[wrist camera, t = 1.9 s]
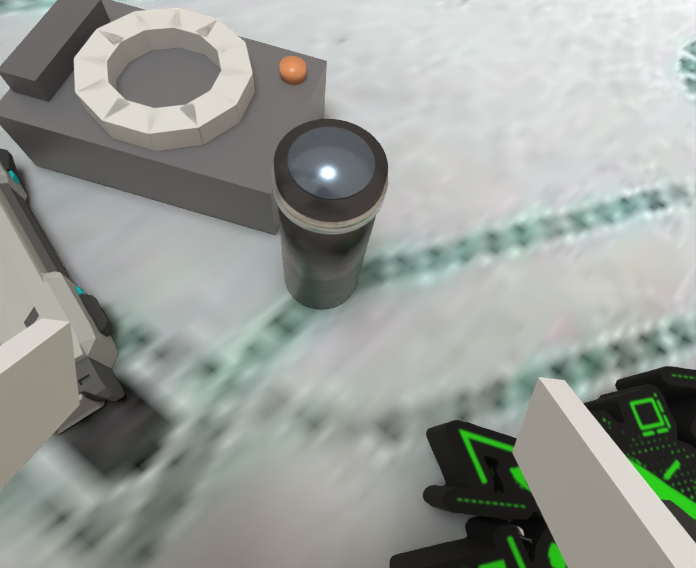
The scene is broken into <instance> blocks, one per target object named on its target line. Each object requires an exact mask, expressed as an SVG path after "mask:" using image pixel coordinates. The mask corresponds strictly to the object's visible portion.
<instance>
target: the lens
mask: <svg viewBox="0 0 696 568" xmlns="http://www.w3.org/2000/svg"><path fill="white" fill-rule="evenodd" d="M271 178H272V187H273V194H274V197H275V200H276V202H277V205H278V215H279V225H280V235H281V245H282V256H283V266H284V276H285V283H286V286H287V288H288V291H289V292H290V294H291V295H292V296H293V297H294V299H296V300H297V301H298V302H299V303H301V304H303V305H305V306H307V307H310V308H314V309H330V308H333V307H336V306H338V305H340V304H342V303H343V302H345V301H346V300H347V299H348V298H349V297H350V296H351V294H352V293H353V291H354V289H355V286H356V283H357V280H358V276H359V273H360V269H361V266H362V262H363V259H364V255H365V252H366V248H367V245H368V242H369V238H370V235H371V231H372V228H373V224H374V221H375V217H376V214H377V213H378V212H379V210H380V208H381V206H382V204H383V201H384V198H385V194H386V191H387V186H388V162H387V158H386V155H385V152H384V150H383V148H382V147H381V145H380V143H379V142H378V141H377V140H376V139H375V138H374V137H373V136H372V135H371V134H370V133H369V132H367V131H366V130H364V129H363V128H361V127H359V126H357V125H355V124H352V123H349V122H346V121H342V120H336V119H318V120H313V121H309V122H306V123H303V124H301V125H299V126H297V127H295V128H293V129H292V130H291V131H289V132H288V133H287V134H286V135H285V136H284V137H283V138H282V140H281V141H280V142H279V144H278V146H277V148H276V151H275V155H274V162H273V165H272V170H271Z"/></svg>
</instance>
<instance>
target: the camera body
mask: <svg viewBox="0 0 696 568" xmlns="http://www.w3.org/2000/svg"><path fill="white" fill-rule="evenodd" d="M326 67H327V61H325V60H321V59H318V58H314V57H311V56H307V55H304V54H300V53H297V52H293V51H290V50H286V49H282V48H279V47H275V46H272V45H268V44H265V43H261V42H258V41H254V40H250V39H247V38H243V37H240V36H238V35H236V34H235V33H234V32H233V31H232V30H231V29H229V28H228V27H227V26H226V25H225V24H224V23H222V22H221V21H220V20H219V19H217V18H213V17H210V16H206V15H203V14H199V13H196V12H192V11H188V10H185V9H181V8H169V9H156V10H144V9H140V8H137V7H133V6H130V5H126V4H123V3H119V2H115V1H112V0H57V1H56V3H55V4H54V5H53V6H52V7H51V8H50V10H49V11H48V12H47V13H46V14H45V15H44V16H43V18H42V19H41V20H40V21H39V22H38V23H37V25H36V26H35V27H34V28H33V29H32V30H31V31H30V33H29V34H28V35H27V36H26V37H25V38H24V40H23V41H22V42H21V43H20V44H19V45H18V46H17V48H16V49H15V50H14V51H13V52H12V53H11V55H10V56H9V57H8V58H7V59H6V60H5V61H4V63H3V64H2V65H1V66H0V75H1V76H2V78H3V79H4V80H5V82H6V83H7V84H8V85H9V87H10V89H9V91H8V92H7V93H6V94H5V96H4V97H3V98H2V99H1V100H0V125H1V126H2V127H3V128H4V130H5V131H6V132H7V133H8V134H9V135H10V136H11V138H12V139H13V140H14V141H15V142H16V143H17V144H18V145H19V147H20V148H21V149H22V150H23V151H24V152H25V153H26V155H27V156H28V157H29V158H30V159H31V160H32V161H33V162H34V164H35V165H37V166H40V167H43V168H47V169H50V170H54V171H57V172H61V173H64V174H68V175H71V176H74V177H78V178H81V179H85V180H88V181H92V182H95V183H99V184H102V185H105V186H109V187H112V188H116V189H119V190H123V191H126V192H130V193H133V194H136V195H140V196H143V197H147V198H150V199H154V200H157V201H160V202H164V203H167V204H171V205H174V206H178V207H181V208H185V209H188V210H191V211H195V212H198V213H202V214H205V215H209V216H212V217H216V218H219V219H222V220H226V221H229V222H233V223H236V224H240V225H243V226H246V227H250V228H253V229H257V230H260V231H264V232H267V233H271V234H274V235H276V232H277V230H278V227H279V215H278V205H277V202H276V200H275V197H274V194H273V187H272V178H271V170H272V165H273V162H274V155H275V151H276V148H277V146H278V144H279V142H280V141H281V140H282V138H283V137H284V136H285V135H286V134H287V133H288V132H289V131H291V130H292V129H293V128H295V127H297V126H299V125H301V124H303V123H306V122H309V121H313V120H318V119H322V117H323V114H324V102H325V84H326Z"/></svg>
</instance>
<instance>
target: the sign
mask: <svg viewBox="0 0 696 568" xmlns="http://www.w3.org/2000/svg"><path fill="white" fill-rule="evenodd" d="M615 386H616V388H617V390H618V391H616V392H612V393H608V394H604V395H601V396H600V397H599V398H598V399H597V400H594V401H590V402H586V403H583V404H584V405H585V406H586V408H587V409H588V410H589V411H590V413H591V414H592V415H593V416H594V418H595V419H596V420H597V421H598V423H599V424H600V425H601V426H602V428H603V429H604V430H605V431H606V433H607V434H608V435H609V436H610V438H611V439H612V440H613V441H614V442H615V444H616V445H617V446H618V447H619V449H620V450H621V451H622V452H623V454H624V455H625V456H626V457H627V459H628V460H629V461H630V462H631V464H632V465H633V466H634V467H635V469H636V470H637V471H638V472H639V474H640V475H641V476H642V477H643V478H644V480H645V481H646V482H647V483H648V485H649V486H650V487H651V488H652V490H653V491H654V492H655V493H656V495H657V496H658V497H659V498H660V499H664V500H671V501H672V502H674V503H675V504H676V505H677V506H679V507H680V508H681V509H682V510H683V511H685V512H686V513H687V514H688V515H690V516H691V517H692V518H693V519H695V520H696V370H692V369H684V368H679V367H672V366H665V367H662V368H658V369H655V370H651V371H648V372H644V373H640V374H637V375H633V376H630V377H626V378H623V379H619V380H617V382H616V384H615ZM426 435H427V439H428V441H429V444H430V446H431V448H432V450H433V453H434V455H435V457H436V459H437V462H438V464H439V466H440V469H441V471H442V474H443V476H444V479H445V483H446V484H445V486H437V485H432V486H429V487H427V488H426V489H425V490H424V493H423V498H424V500H425V501H426V502H427V503H429V504H430V505H431V506H434V507H437V508H440V509H444V510H447V511H450V512H454V513H464V514H471V515H479V517H473V518H470V519H469V520H468V521H467V523H466V525H465V528H466V532H467V537H466V538H464V539H461V540H456V541H451V542H446V543H442V544H438V545H434V546H429V547H425V548H421V549H417V550H413V551H409V552H405V553H401V554H397V555H394V556H393V557H391V559H390V568H568V567H567V565H566V563H565V561H564V559H563V557H562V555H561V552H560V550H559V548H558V546H557V544H556V542H555V540H554V538H553V536H552V534H551V532H550V530H549V528H548V525H547V523H546V521H545V519H544V517H543V515H542V513H541V511H540V509H539V507H538V505H537V503H536V501H535V498H534V496H533V494H532V492H531V490H530V488H529V486H528V484H527V482H526V480H525V478H524V476H523V473H522V471H521V469H520V467H519V465H518V463H517V461H516V459H515V457H514V455H513V453H512V452H513V449H514V446H515V443H516V440H517V439H516V438H514V437H511V436H508V435H505V434H502V433H498V432H495V431H492V430H489V429H486V428H482V427H479V426H476V425H474V424H471V423H468V422H462V421H459V420H454V421H451V422H448V423H445V424H441V425H438V426H435V427H432V428H429V429H428V430H427V433H426ZM510 520H511V521H510ZM509 521H510V522H509Z"/></svg>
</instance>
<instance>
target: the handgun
mask: <svg viewBox="0 0 696 568" xmlns="http://www.w3.org/2000/svg"><path fill="white" fill-rule="evenodd" d="M18 178H19V177H18V174H17V170H16V167H15V164H14V160H13V157H12V155H11V154H10V153H9V152H8V151H7V150H4V149H0V346H1V345H2V344H4V343H5V342H7V341H8V340H10V339H11V338H13V337H14V336H16V335H17V334H19V333H20V332H22V331H23V330H25V329H26V328H28V327H29V326H31V325H32V324H34V323H35V322H37V321H38V320H40V319H41V318H43V319H52V320H60V321H69V322H70V324H71V332H72V341H73V350H74V359H75V368H76V377H77V386H78V394H79V403H80V405H79V406H78V407H77V408H76V409H75V410H74V411H73V413H72V414H71V415H70V416H69V417H68V418H67V419H66V420H65V421H64V422H63V423H62V424H61V426H60V427H59V428H58V429H57V430H56V431H55V432H54V433H53V434H52V435H58V434H60V433H61V432H63V431H64V430H66V429H68V428H69V427H71V426H72V425H74V424H75V423H77V422H79V421H80V420H82V419H83V418H85V417H87V416H88V415H90V414H91V413H93V412H94V411H96V410H98V409H99V408H101V407H102V406H104V404H105V402H104V401H106V400H111V401H114V402H116V401H117V400H119V399H120V398H122V397H123V396H125V393H124V390H123V388H122V387H121V385H120V383H119V381H118V380H117V378H116V376H115V374H114V373H113V371H112V367H113V365H114V363H115V360H116V358H117V356H118V350H117V348H116V346H115V343H114V341H113V339H112V337H111V336H110V332H111V323H110V322H109V320H108V318H107V317H106V315H105V313H104V311H103V310H102V308H101V306H100V305H99V303H98V301H97V300H96V298H95V297H93V296H91V295H87V294H86V293H85V292H84V290H82V289H81V288H80V287H78V286H77V285H75V284H74V283H73V282H72V281H70V279H69V277H68V275H67V274H66V272H65V270H64V268H63V267H62V265H61V263H60V261H59V260H58V258H57V256H56V255H55V253H54V251H53V249H52V248H51V246H50V244H49V242H48V241H47V239H46V237H45V235H44V234H43V232H42V230H41V229H40V227H39V225H38V223H37V222H36V220H35V218H34V216H33V215H32V213H31V211H30V209H29V207H28V205H27V204H26V202H25V200H26V198H27V194H26V193H25V191H24V189H23V187H22V186H21V184H20V182H19V179H18Z"/></svg>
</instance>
